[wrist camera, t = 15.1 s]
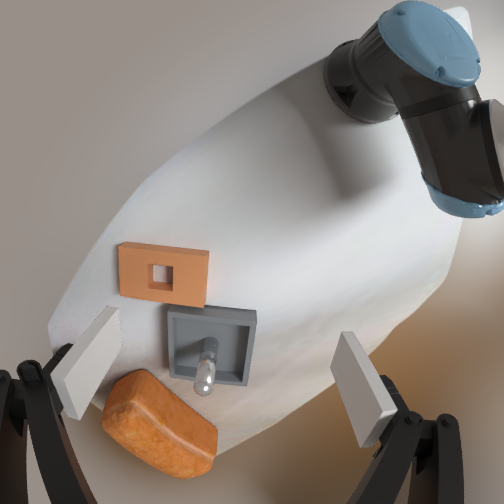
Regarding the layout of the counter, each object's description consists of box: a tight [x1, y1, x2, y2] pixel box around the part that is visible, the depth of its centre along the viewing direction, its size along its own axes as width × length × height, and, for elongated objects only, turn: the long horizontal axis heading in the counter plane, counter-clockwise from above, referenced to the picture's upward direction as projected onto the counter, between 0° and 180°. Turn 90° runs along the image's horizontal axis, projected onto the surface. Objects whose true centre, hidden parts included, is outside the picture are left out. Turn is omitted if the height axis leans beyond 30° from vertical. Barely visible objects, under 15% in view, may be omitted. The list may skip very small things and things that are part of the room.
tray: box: [167, 304, 257, 386], centre depth 50 cm, size 15×15×4 cm
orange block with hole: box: [118, 242, 209, 308], centre depth 46 cm, size 15×9×3 cm, turn 83°
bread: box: [101, 369, 218, 479], centre depth 51 cm, size 14×26×16 cm, turn 36°
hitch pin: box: [194, 337, 219, 396], centre depth 45 cm, size 3×3×14 cm
